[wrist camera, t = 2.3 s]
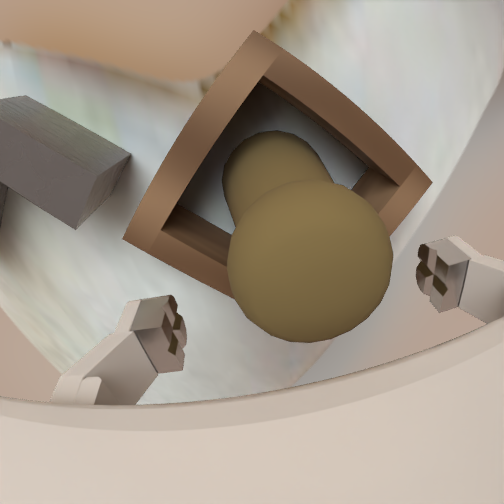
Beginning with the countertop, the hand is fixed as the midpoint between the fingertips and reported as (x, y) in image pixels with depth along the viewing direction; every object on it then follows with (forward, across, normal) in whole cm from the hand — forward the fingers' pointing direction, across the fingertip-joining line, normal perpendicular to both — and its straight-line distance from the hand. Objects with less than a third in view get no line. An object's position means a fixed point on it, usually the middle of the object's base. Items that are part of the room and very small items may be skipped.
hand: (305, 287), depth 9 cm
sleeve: (+10, 0, -1) cm, 10 cm away
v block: (+10, +15, -6) cm, 19 cm away
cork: (+10, 0, -1) cm, 10 cm away
